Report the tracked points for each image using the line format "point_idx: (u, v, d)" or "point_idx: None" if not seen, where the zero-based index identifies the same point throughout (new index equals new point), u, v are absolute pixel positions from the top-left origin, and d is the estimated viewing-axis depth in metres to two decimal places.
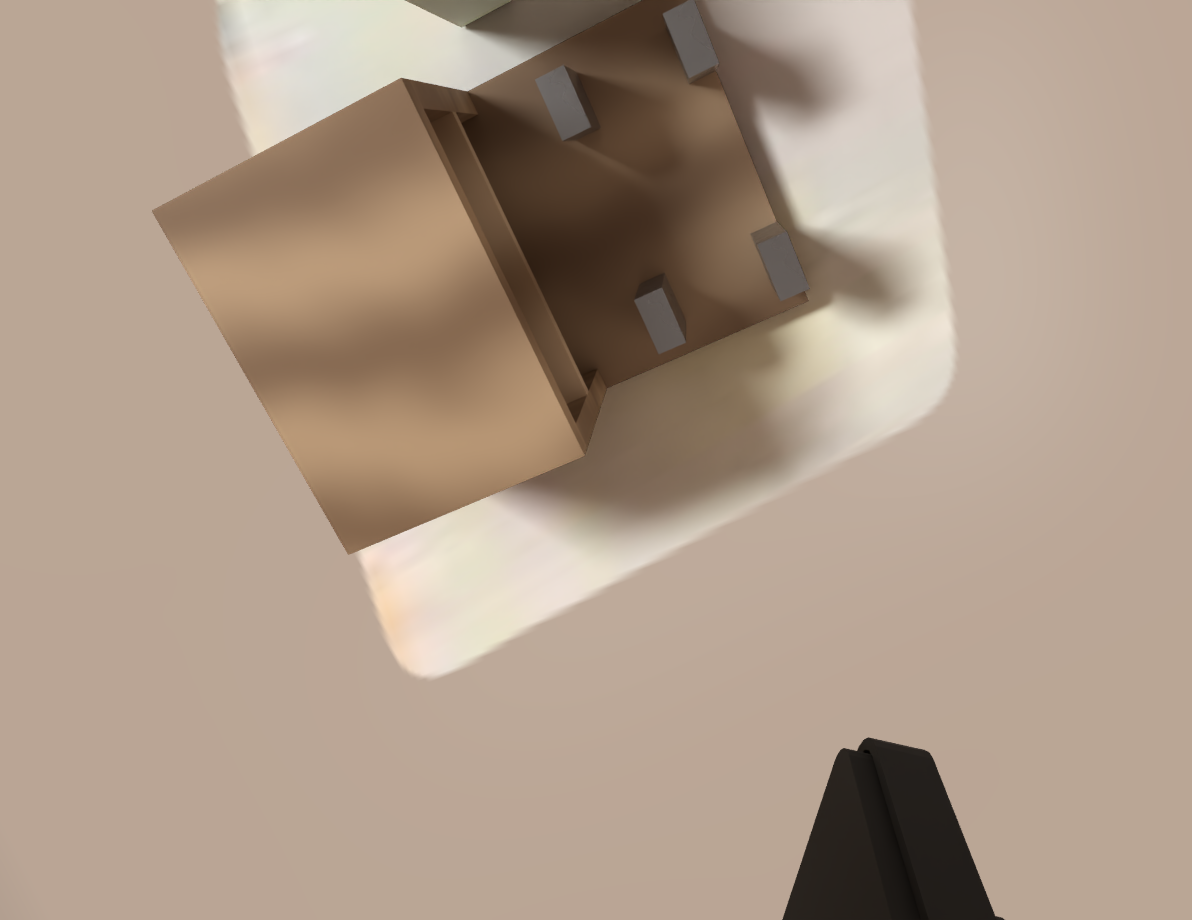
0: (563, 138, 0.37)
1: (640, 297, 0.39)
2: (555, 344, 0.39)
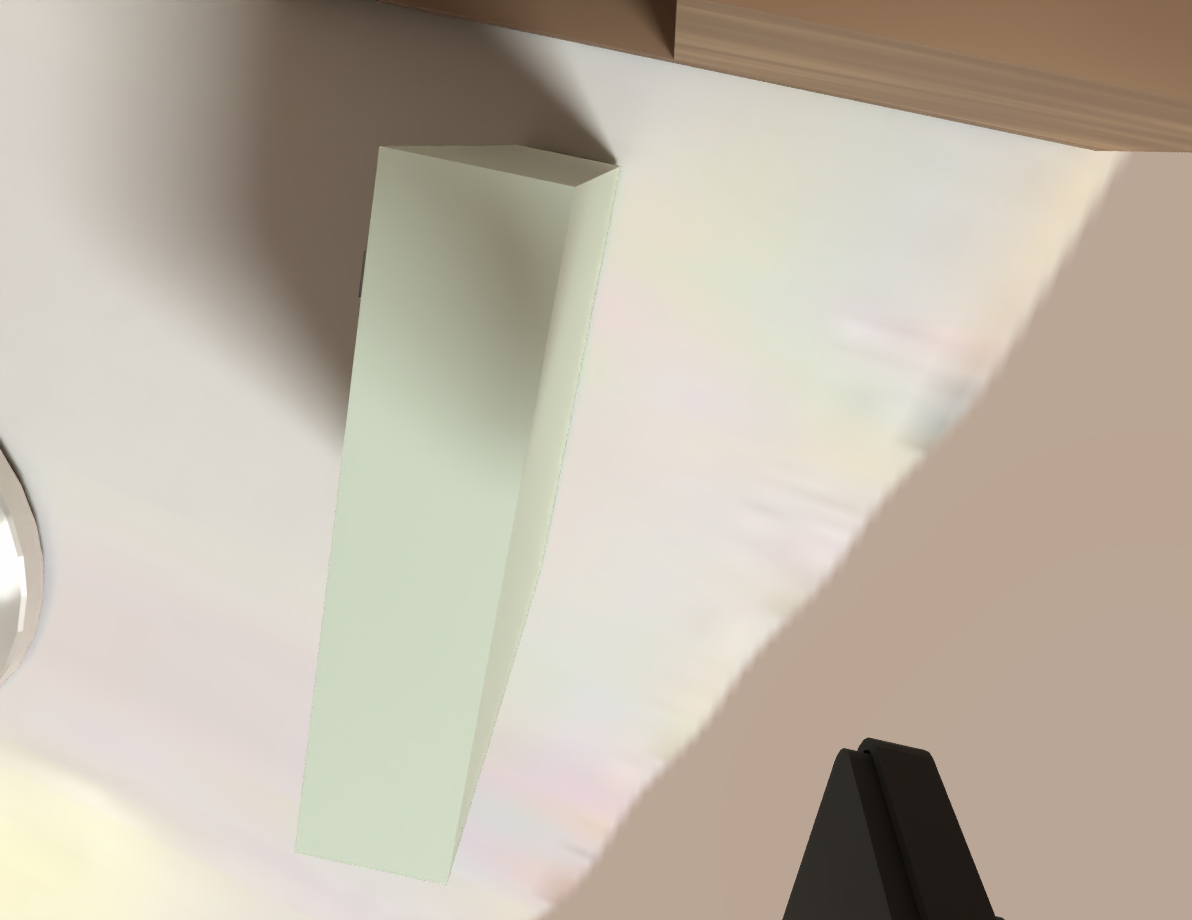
0: None
1: None
2: None
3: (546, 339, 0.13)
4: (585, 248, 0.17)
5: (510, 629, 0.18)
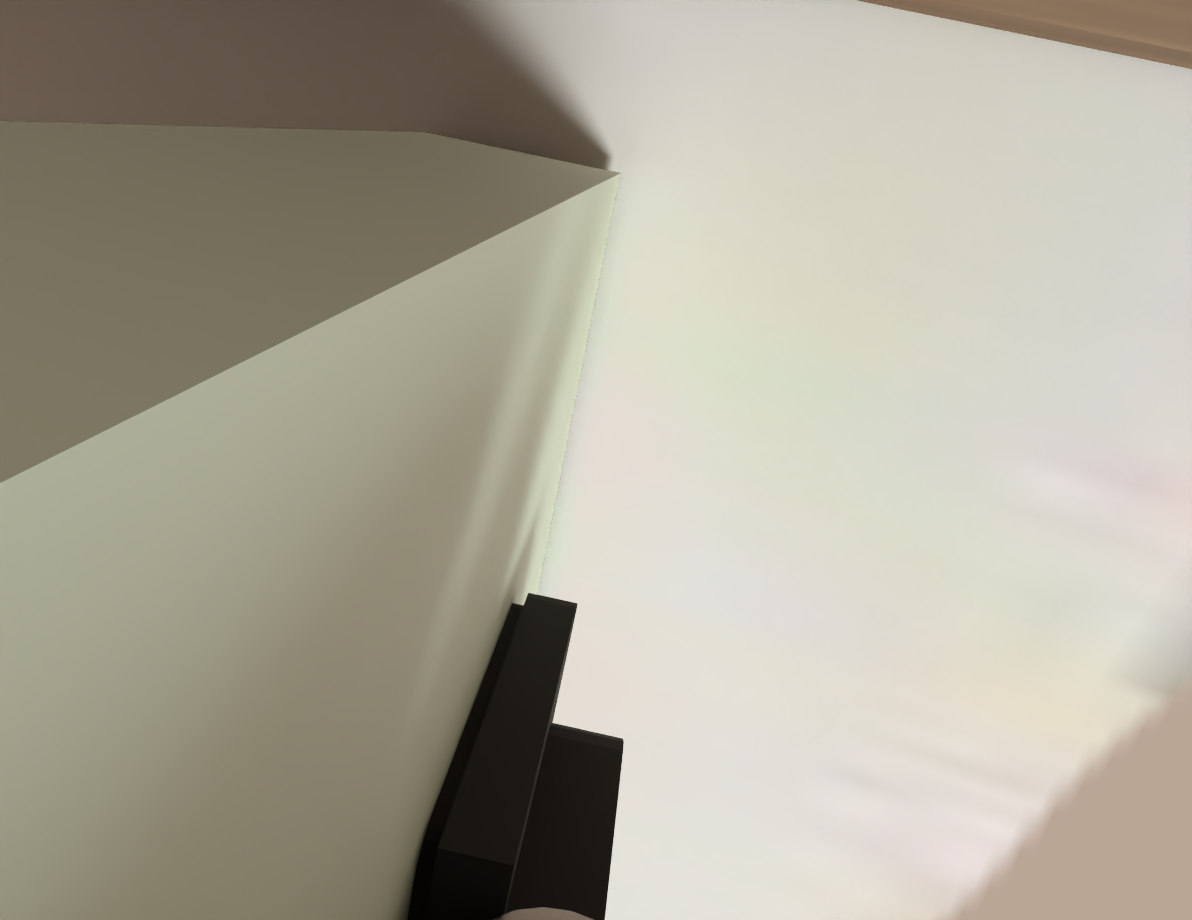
0: None
1: None
2: None
3: None
4: (482, 448, 0.05)
5: None
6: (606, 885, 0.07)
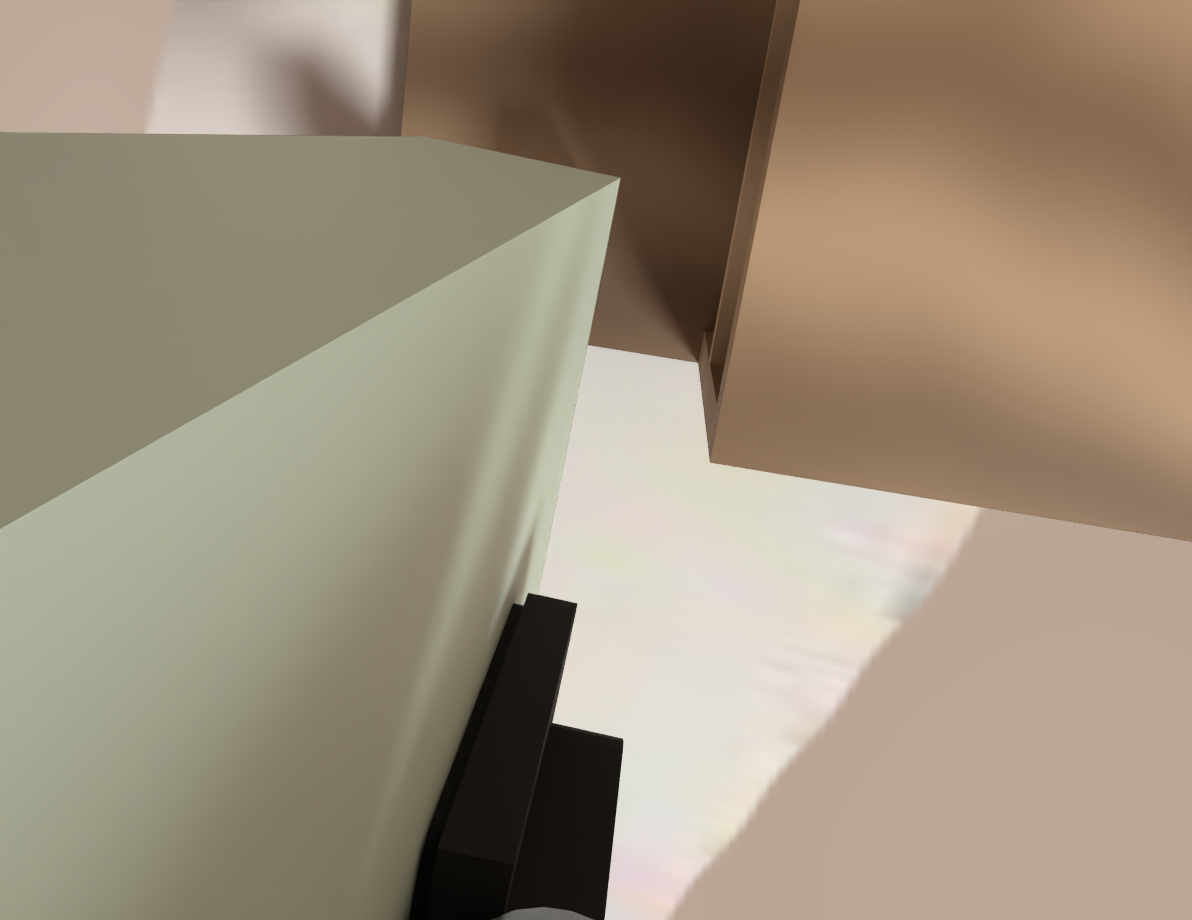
0: None
1: None
2: None
3: None
4: (484, 456, 0.05)
5: None
6: (606, 885, 0.07)
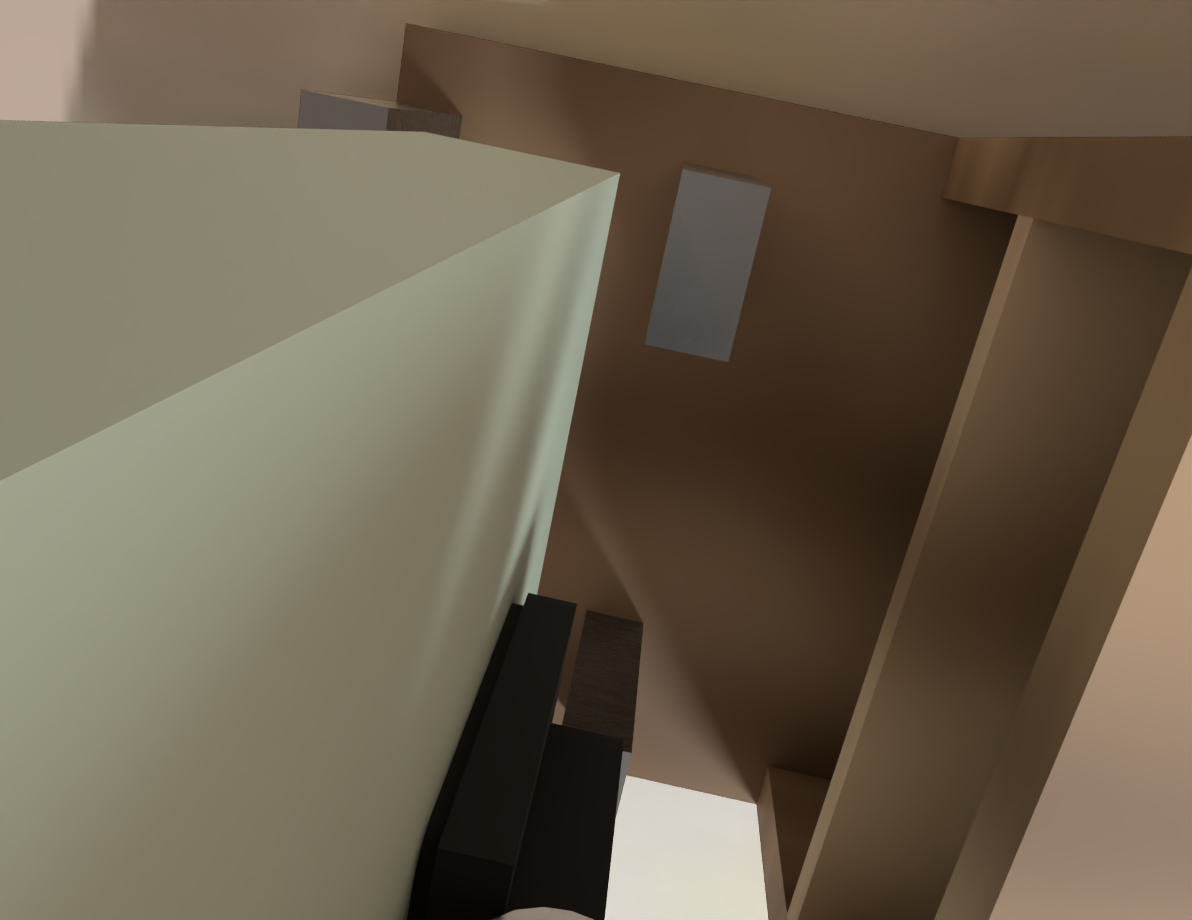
0: (626, 755, 0.16)
1: (710, 356, 0.14)
2: (993, 401, 0.13)
3: None
4: (483, 446, 0.05)
5: None
6: (606, 884, 0.07)
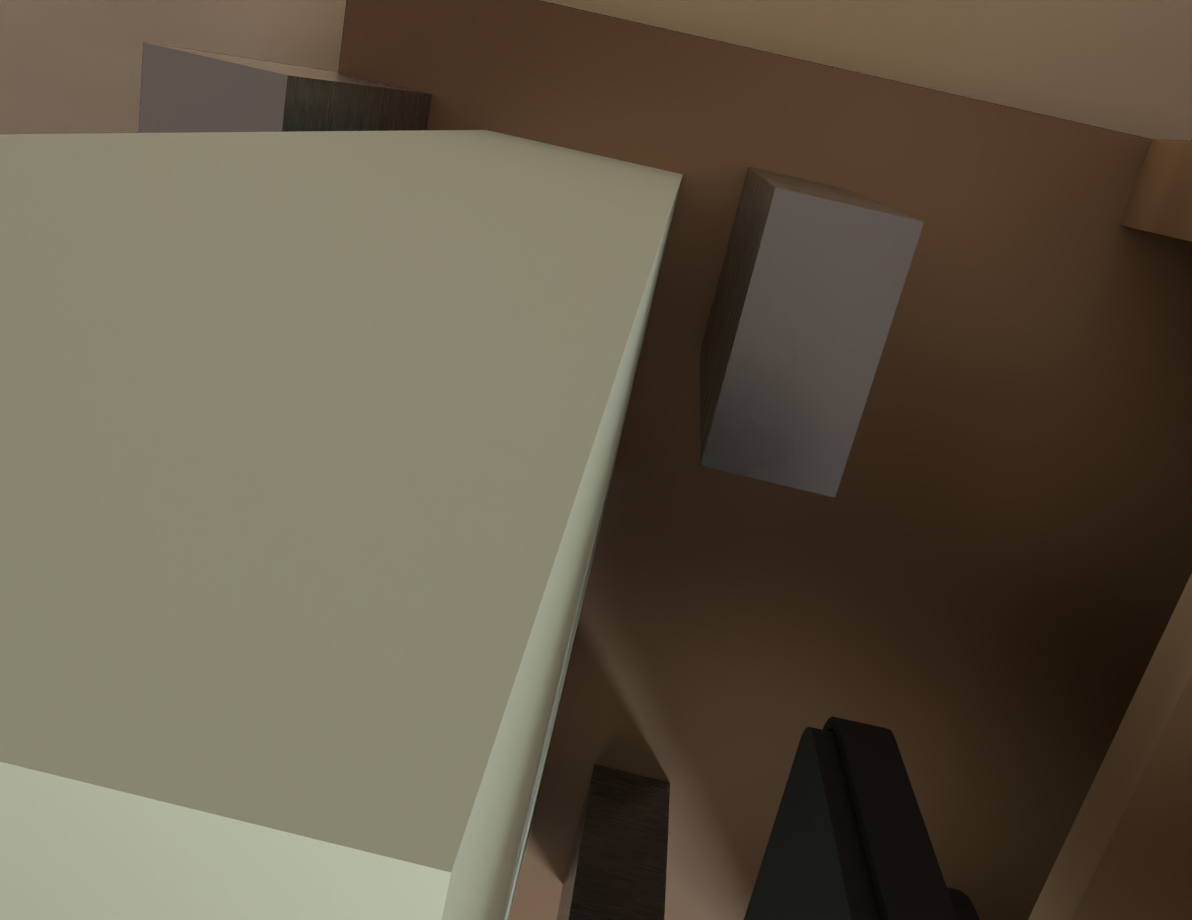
0: None
1: (805, 486, 0.09)
2: None
3: None
4: (609, 464, 0.05)
5: None
6: None
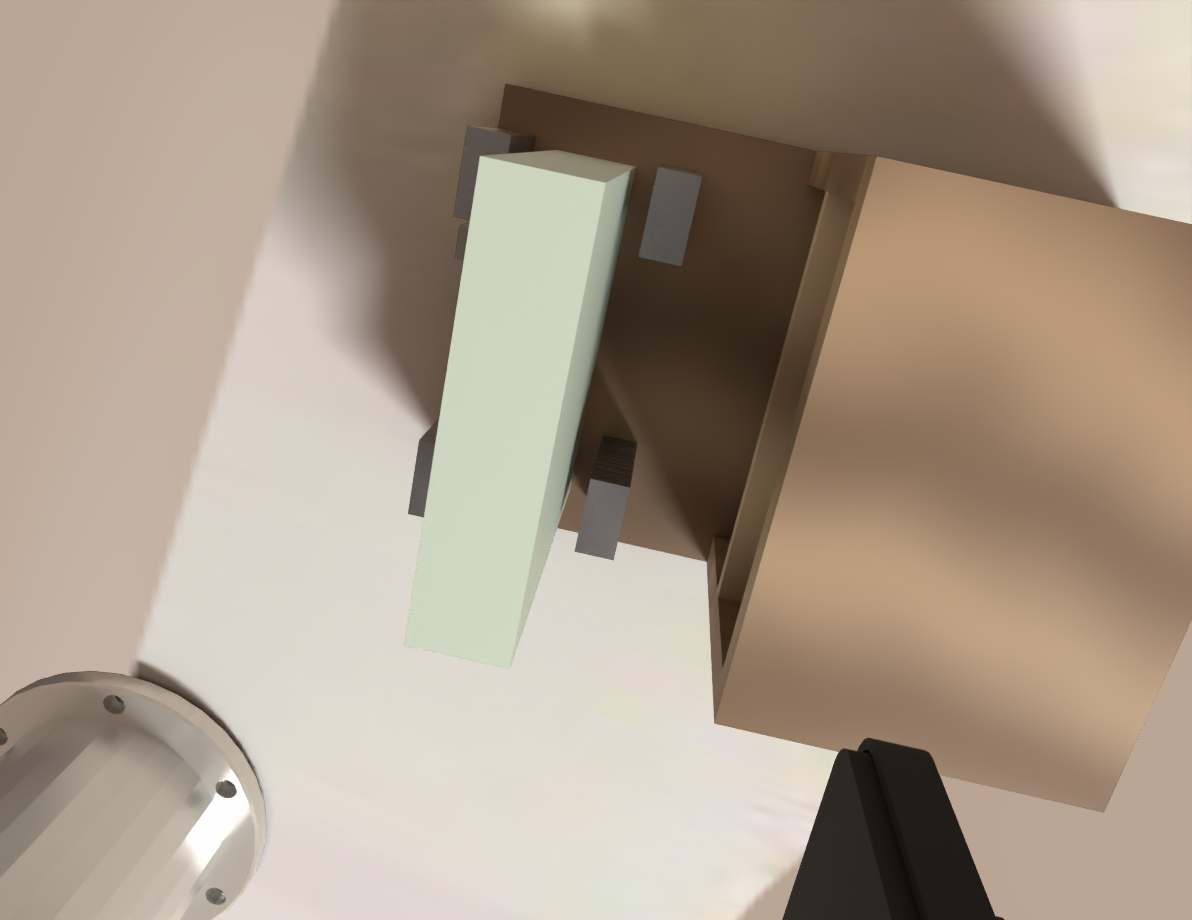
0: (627, 489, 0.29)
1: (672, 263, 0.27)
2: (814, 285, 0.26)
3: (585, 282, 0.20)
4: (610, 226, 0.23)
5: (552, 506, 0.25)
6: None
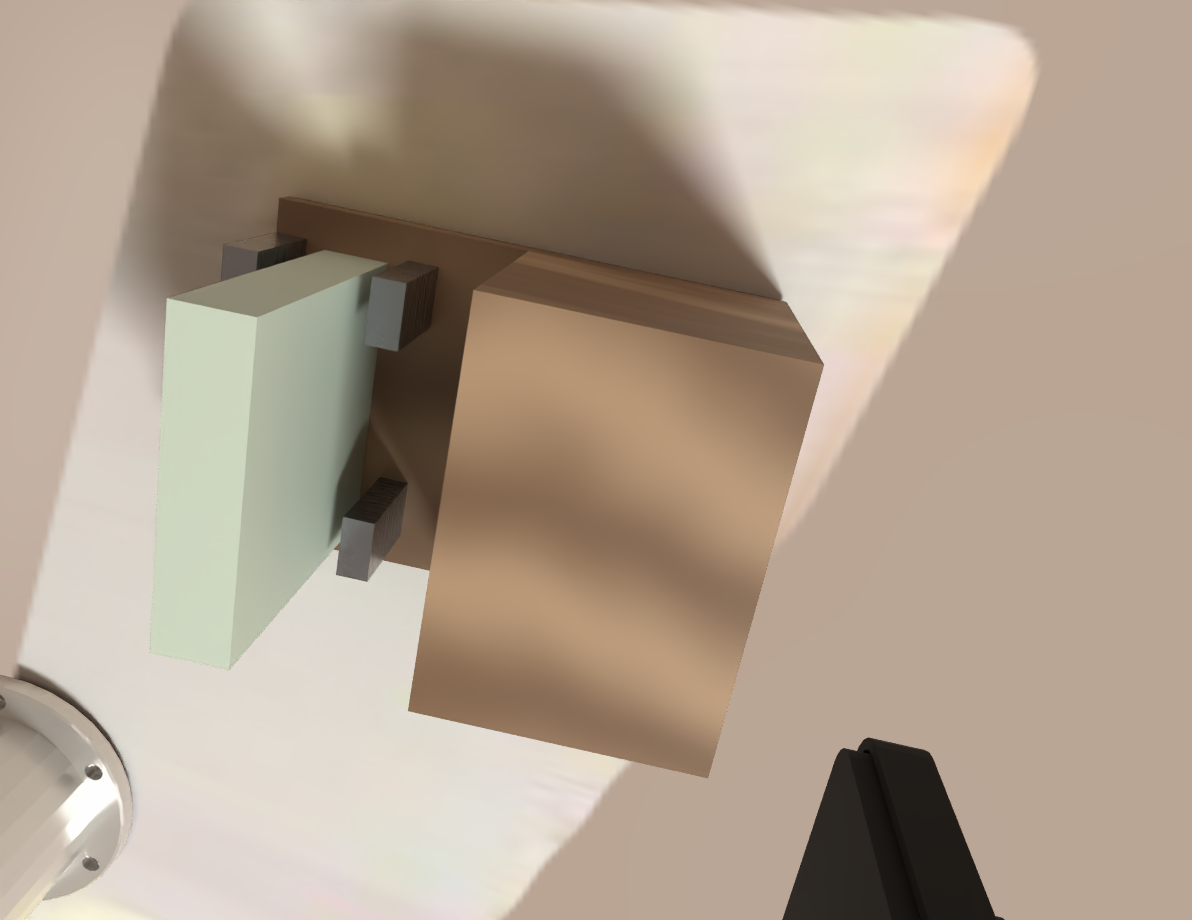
0: (372, 525, 0.36)
1: (390, 349, 0.34)
2: None
3: (251, 387, 0.27)
4: (312, 330, 0.31)
5: (284, 542, 0.32)
6: None
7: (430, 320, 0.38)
